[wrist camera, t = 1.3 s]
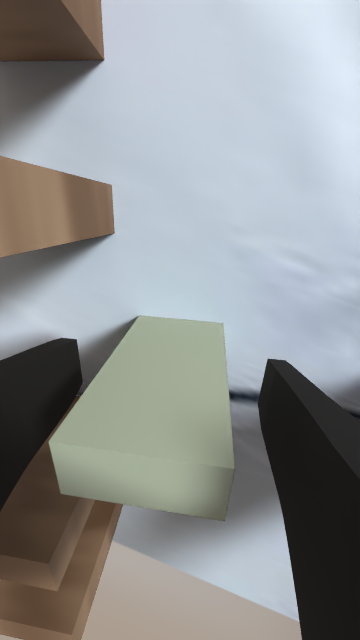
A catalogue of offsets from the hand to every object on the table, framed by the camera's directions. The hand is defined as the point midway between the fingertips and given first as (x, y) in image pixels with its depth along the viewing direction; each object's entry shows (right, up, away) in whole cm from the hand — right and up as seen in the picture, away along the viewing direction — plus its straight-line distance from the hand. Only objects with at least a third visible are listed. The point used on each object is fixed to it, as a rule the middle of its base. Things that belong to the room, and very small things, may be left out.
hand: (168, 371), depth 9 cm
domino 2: (-5, -3, +5) cm, 8 cm away
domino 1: (-5, -8, +8) cm, 12 cm away
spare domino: (0, +1, +3) cm, 3 cm away
